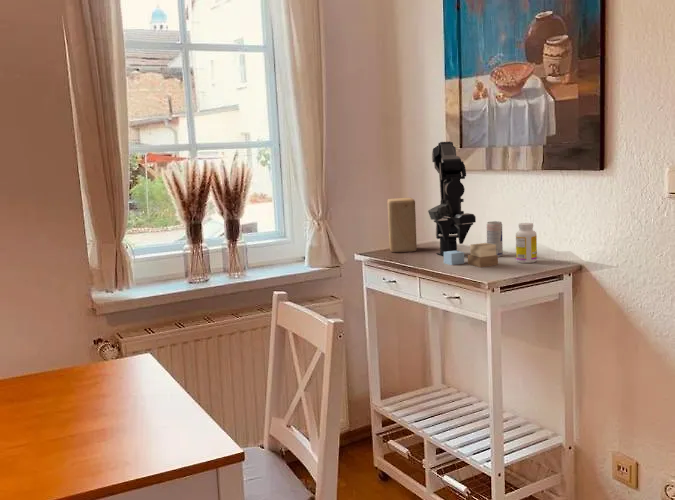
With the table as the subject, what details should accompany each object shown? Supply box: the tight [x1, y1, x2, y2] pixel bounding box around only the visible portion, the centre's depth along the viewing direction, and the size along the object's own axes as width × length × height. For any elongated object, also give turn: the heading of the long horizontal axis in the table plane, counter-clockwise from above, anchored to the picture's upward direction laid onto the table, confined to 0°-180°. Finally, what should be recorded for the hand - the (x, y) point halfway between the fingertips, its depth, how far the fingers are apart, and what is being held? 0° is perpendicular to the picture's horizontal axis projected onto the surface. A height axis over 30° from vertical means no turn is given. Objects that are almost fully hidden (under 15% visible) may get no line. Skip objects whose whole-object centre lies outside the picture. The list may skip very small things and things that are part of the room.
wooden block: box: [386, 197, 418, 253], centre depth 263 cm, size 10×10×20 cm
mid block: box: [469, 242, 496, 257], centre depth 226 cm, size 6×6×4 cm
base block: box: [467, 254, 499, 268], centre depth 227 cm, size 7×7×4 cm
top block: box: [443, 250, 465, 266], centre depth 232 cm, size 5×5×4 cm
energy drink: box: [486, 220, 504, 258], centre depth 241 cm, size 5×5×12 cm
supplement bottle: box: [515, 222, 538, 264], centre depth 227 cm, size 7×7×13 cm
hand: (453, 242), depth 231 cm, fingers open, 9 cm apart
